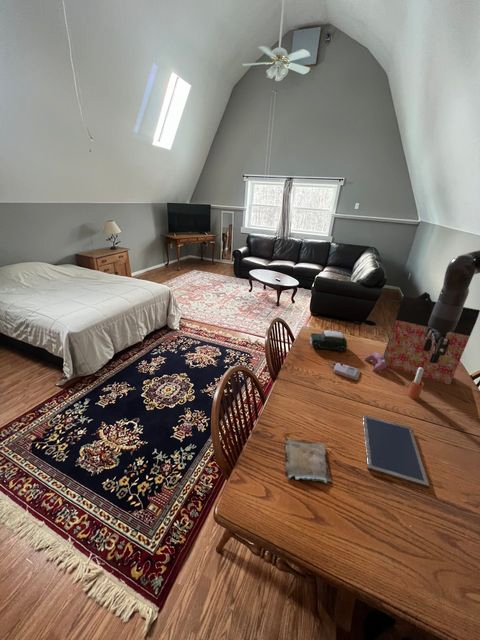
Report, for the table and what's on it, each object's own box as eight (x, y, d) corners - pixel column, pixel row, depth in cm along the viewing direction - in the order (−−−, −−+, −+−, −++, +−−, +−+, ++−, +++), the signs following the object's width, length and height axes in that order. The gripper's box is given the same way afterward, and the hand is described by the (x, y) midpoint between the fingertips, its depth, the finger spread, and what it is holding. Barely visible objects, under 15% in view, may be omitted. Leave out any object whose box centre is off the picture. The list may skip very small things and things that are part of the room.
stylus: (414, 395, 104) (423, 366, 99) (416, 398, 102) (424, 369, 97) (409, 394, 104) (417, 366, 99) (410, 397, 103) (419, 368, 98)
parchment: (284, 478, 71) (285, 476, 71) (284, 438, 83) (284, 436, 82) (332, 486, 70) (333, 484, 69) (325, 444, 81) (325, 442, 81)
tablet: (410, 429, 89) (411, 427, 88) (428, 488, 71) (429, 485, 70) (362, 416, 93) (362, 414, 92) (367, 469, 75) (368, 467, 74)
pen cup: (416, 395, 105) (422, 380, 102) (418, 401, 101) (425, 386, 98) (406, 393, 106) (412, 378, 103) (408, 398, 102) (414, 384, 99)
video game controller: (380, 375, 118) (391, 364, 115) (372, 371, 117) (383, 359, 114) (370, 363, 127) (380, 351, 124) (362, 359, 126) (372, 347, 123)
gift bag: (446, 370, 121) (479, 298, 106) (450, 387, 110) (487, 309, 95) (376, 351, 134) (396, 283, 119) (372, 364, 123) (395, 292, 108)
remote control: (362, 382, 110) (363, 376, 109) (324, 369, 117) (325, 363, 116) (364, 374, 115) (366, 368, 114) (328, 362, 123) (329, 357, 121)
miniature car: (308, 340, 141) (311, 326, 138) (344, 344, 139) (347, 330, 135) (309, 348, 133) (312, 334, 130) (347, 353, 131) (351, 339, 127)
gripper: (467, 325, 82) (448, 369, 88) (451, 309, 94) (435, 348, 101) (439, 321, 84) (422, 364, 91) (426, 305, 96) (412, 344, 103)
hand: (429, 356), depth 96 cm, fingers open, 8 cm apart
